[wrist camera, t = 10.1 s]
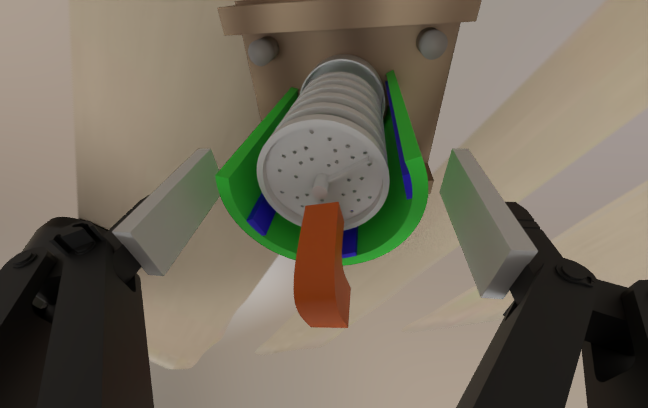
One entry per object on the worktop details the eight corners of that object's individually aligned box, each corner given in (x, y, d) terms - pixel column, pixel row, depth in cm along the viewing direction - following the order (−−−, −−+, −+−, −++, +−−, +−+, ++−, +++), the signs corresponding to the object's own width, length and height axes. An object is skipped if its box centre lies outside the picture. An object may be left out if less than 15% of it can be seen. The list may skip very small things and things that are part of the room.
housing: (276, 167, 29) (264, 190, 26) (242, 0, 20) (216, 2, 16) (421, 170, 27) (429, 196, 24) (463, -17, 17) (486, -18, 14)
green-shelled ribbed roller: (382, 29, 18) (426, 142, 5) (409, 127, 23) (472, 335, 9) (278, 82, 22) (126, 239, 8) (318, 159, 26) (265, 346, 12)
